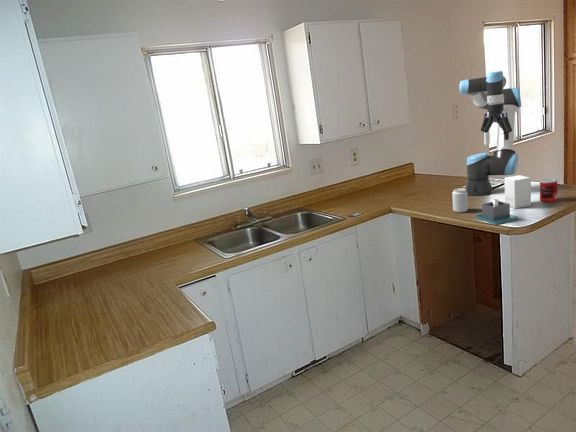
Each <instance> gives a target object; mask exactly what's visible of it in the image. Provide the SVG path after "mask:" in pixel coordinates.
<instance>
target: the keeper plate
mask: <svg viewBox="0 0 576 432" xmlns="http://www.w3.org/2000/svg"><path fill="white" fill-rule="evenodd" d="M498 201H499V199H492V202H493V206H498ZM475 219H478V220H480V221H482V222H485V223H488V224H492V225H495V226H497V225H501V223H502V224H505V222H506V223H510V222H513V220H514V221H517V220H518V216H516V215H513V214H510V216H507V217H503V218H499V219H495V220H493V219H490V218H487V217H484V216H482V213H480V214H476V215H475ZM509 221H510V222H509Z"/></svg>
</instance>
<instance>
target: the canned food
mask: <svg viewBox="0 0 576 432" xmlns="http://www.w3.org/2000/svg"><path fill="white" fill-rule="evenodd" d="M557 199H558V179H557V178H552V177H551V178H550V177H549V178H542V179H539V202H542V203H554V202H557V201H558V200H557Z"/></svg>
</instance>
